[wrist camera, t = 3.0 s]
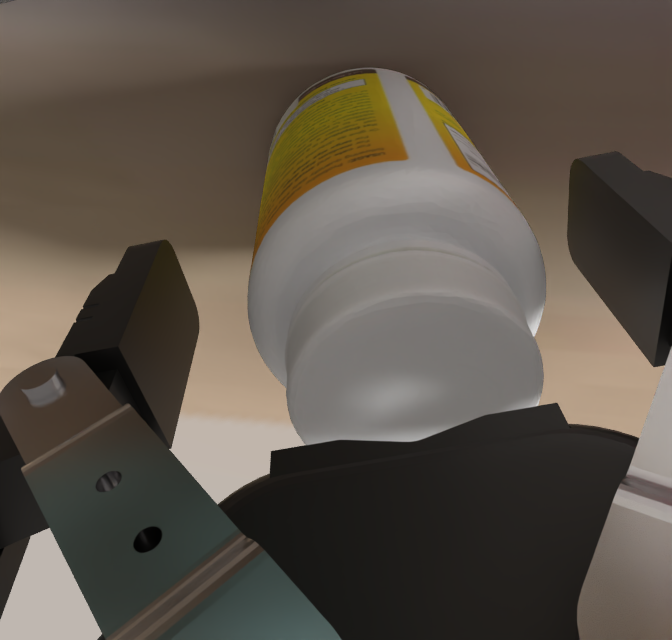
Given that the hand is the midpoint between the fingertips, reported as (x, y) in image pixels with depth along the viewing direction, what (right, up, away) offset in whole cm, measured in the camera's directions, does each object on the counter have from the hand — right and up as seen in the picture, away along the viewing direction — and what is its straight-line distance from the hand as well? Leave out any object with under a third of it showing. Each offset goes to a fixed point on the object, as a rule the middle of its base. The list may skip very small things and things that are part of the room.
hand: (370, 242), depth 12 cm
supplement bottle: (0, +3, +6) cm, 6 cm away
